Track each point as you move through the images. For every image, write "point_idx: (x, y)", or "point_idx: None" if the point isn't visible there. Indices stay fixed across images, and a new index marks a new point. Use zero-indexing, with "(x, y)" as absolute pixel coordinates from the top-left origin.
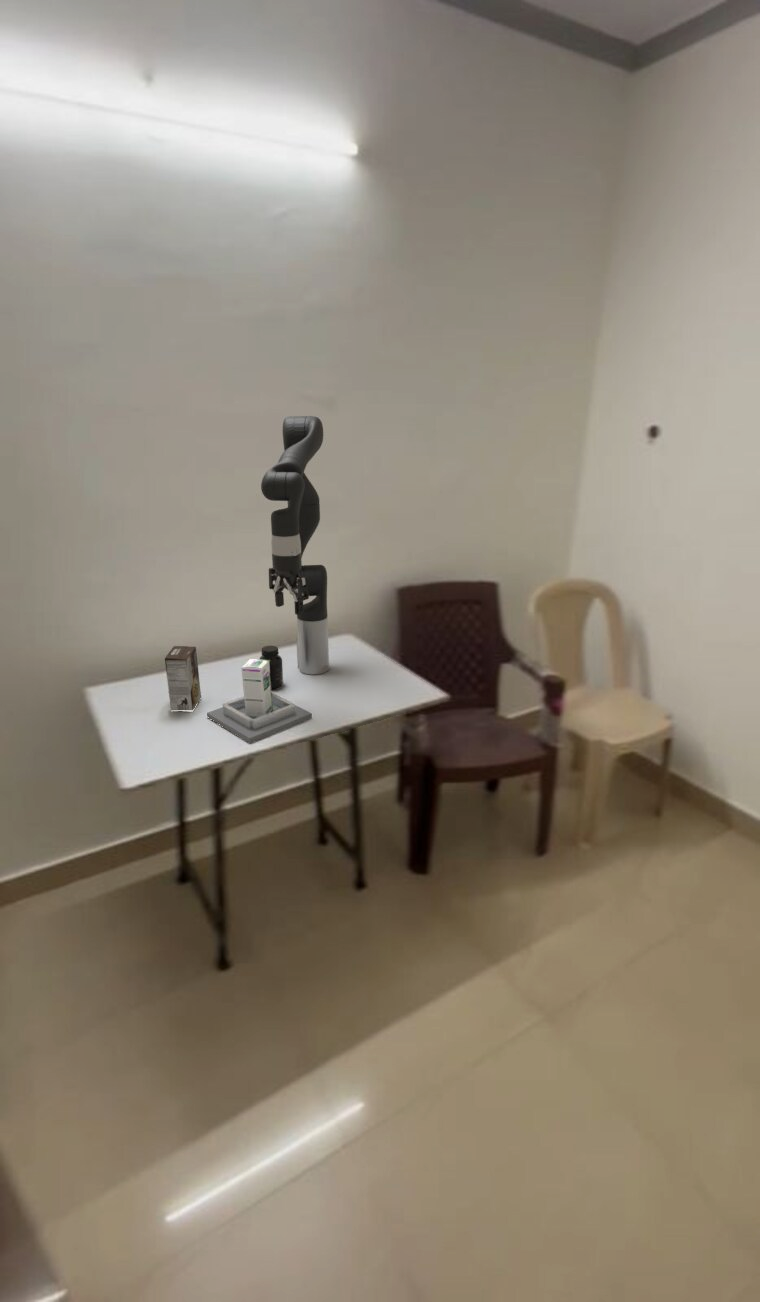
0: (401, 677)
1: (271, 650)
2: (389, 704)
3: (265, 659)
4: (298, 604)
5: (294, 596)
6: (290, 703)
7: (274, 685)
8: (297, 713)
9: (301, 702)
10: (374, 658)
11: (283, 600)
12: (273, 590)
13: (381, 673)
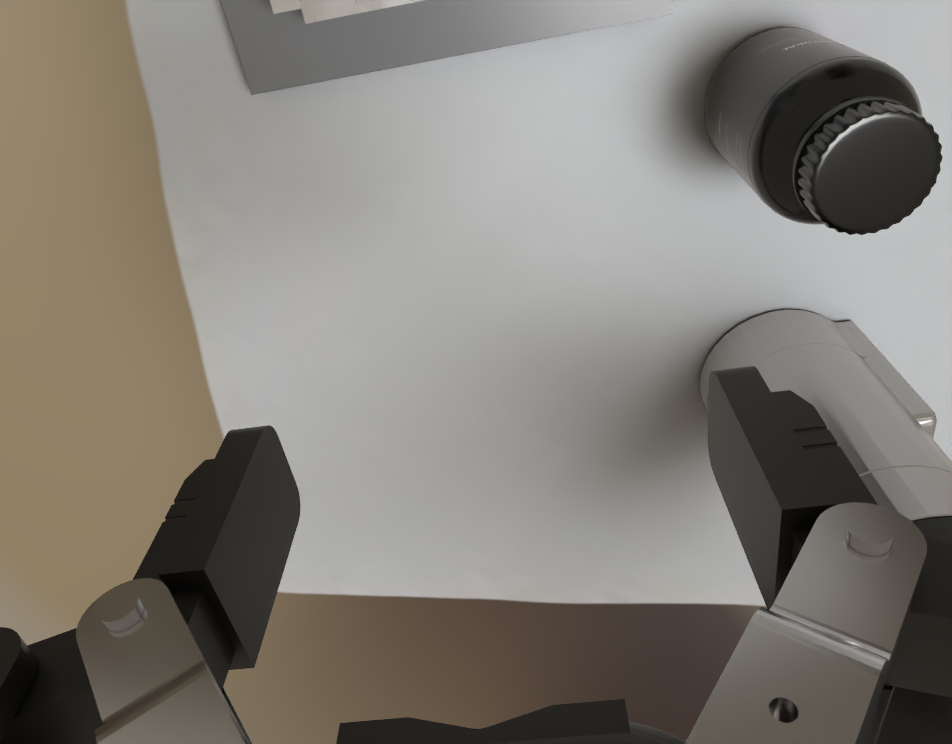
0: (451, 579)
1: (831, 167)
2: None
3: (829, 99)
4: (151, 563)
5: (142, 656)
6: (315, 3)
7: (714, 91)
8: (286, 20)
9: (470, 135)
10: (674, 592)
11: (729, 508)
12: (909, 538)
13: (531, 548)
